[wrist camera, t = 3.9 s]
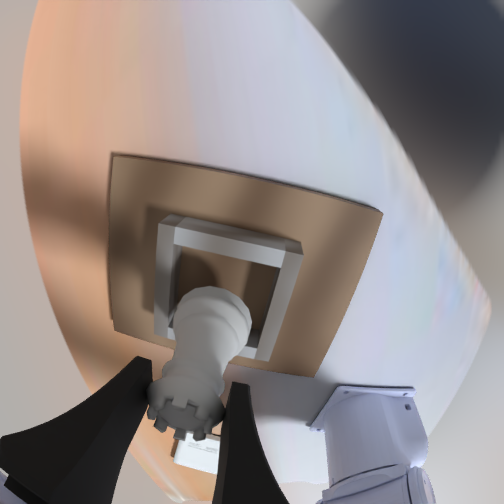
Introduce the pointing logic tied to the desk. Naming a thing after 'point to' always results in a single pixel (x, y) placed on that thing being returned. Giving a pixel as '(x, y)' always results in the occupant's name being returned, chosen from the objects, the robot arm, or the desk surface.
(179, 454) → the external hard drive
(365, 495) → the robot arm
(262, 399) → the desk surface
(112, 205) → the socket board
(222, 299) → the rook chess piece
